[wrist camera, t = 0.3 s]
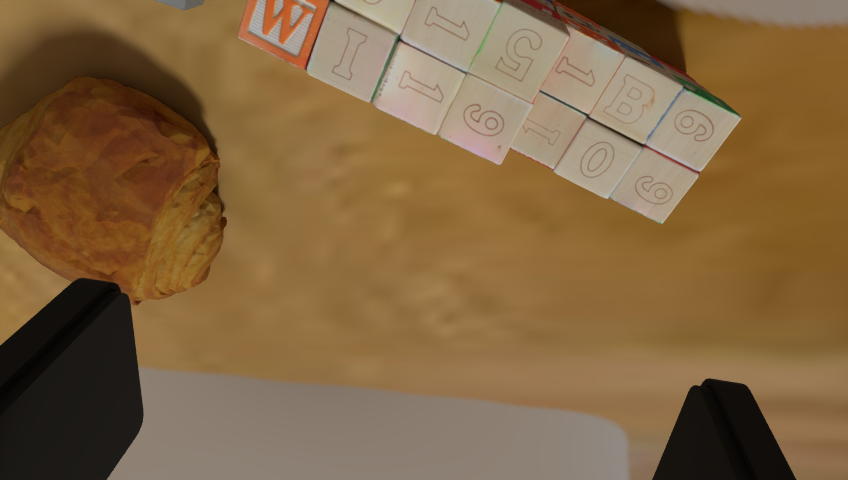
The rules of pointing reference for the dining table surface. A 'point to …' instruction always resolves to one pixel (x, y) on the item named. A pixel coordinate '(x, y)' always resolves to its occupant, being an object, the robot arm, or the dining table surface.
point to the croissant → (111, 189)
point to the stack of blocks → (511, 86)
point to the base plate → (182, 3)
